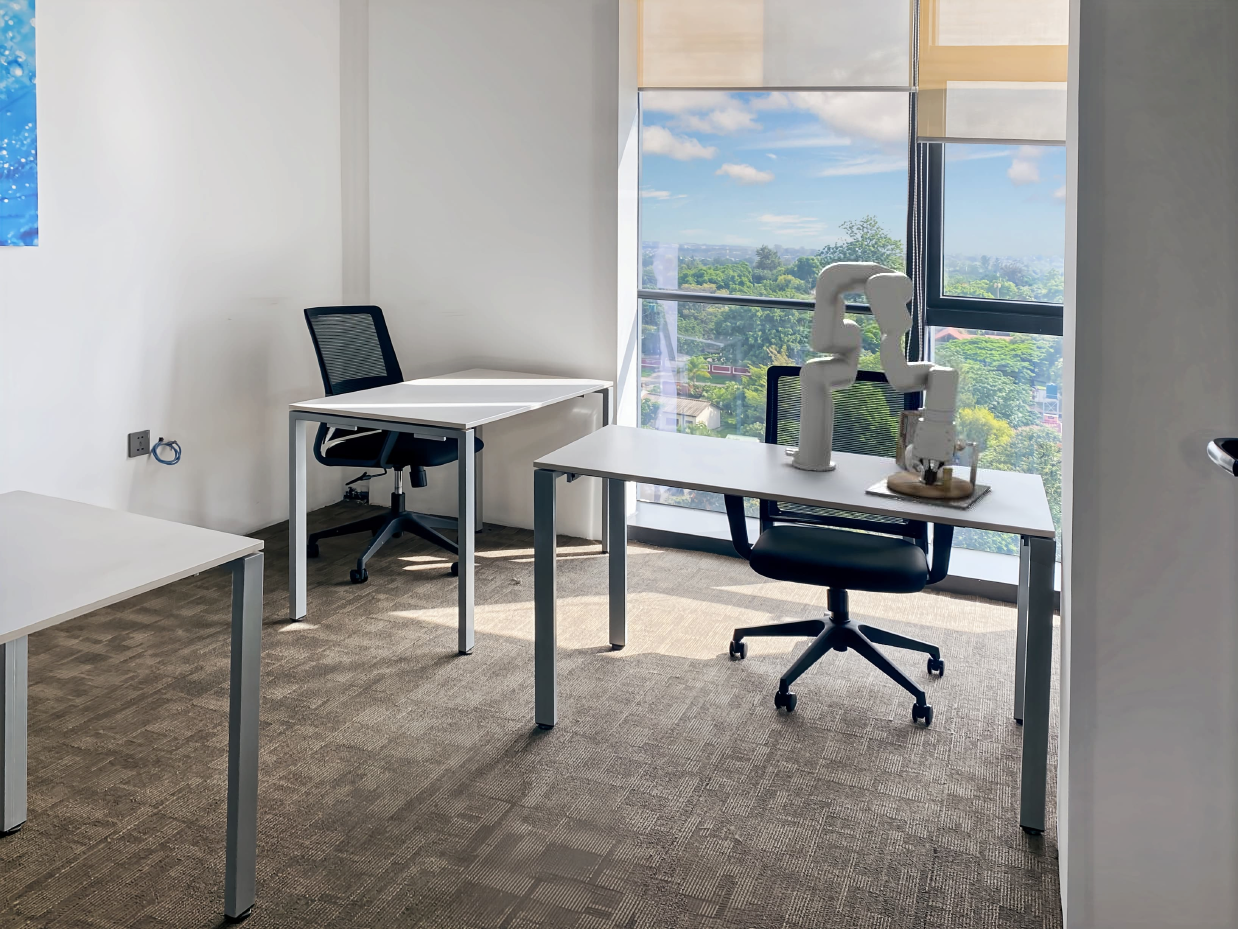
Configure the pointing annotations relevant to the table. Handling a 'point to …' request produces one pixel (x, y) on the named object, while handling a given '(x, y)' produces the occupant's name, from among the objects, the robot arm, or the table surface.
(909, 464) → the white rounded lump
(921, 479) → the cover
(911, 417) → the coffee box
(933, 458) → the robot arm
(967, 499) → the turntable base
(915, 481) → the turntable
